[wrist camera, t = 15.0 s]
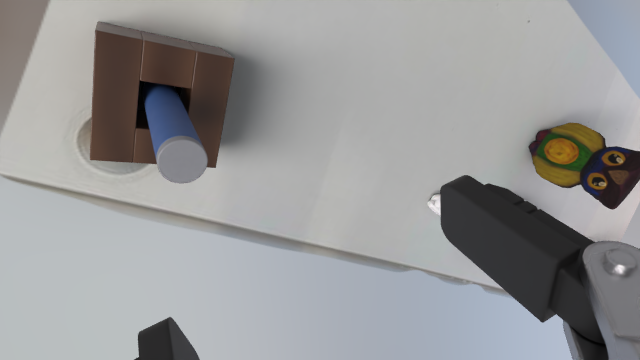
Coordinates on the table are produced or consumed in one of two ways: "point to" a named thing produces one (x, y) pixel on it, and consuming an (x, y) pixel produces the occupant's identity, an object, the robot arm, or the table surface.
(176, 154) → the handle
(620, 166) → the figurine
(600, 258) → the robot arm
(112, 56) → the holder
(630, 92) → the table surface
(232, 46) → the table surface
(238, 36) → the table surface
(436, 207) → the white oval lump
